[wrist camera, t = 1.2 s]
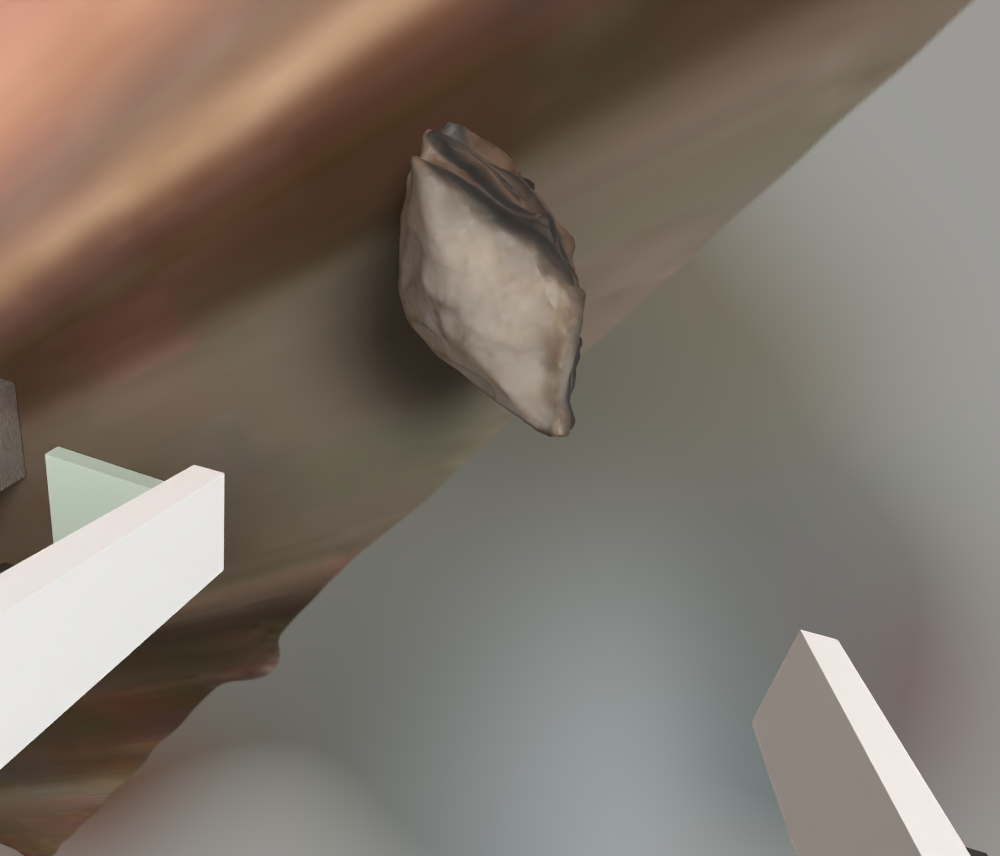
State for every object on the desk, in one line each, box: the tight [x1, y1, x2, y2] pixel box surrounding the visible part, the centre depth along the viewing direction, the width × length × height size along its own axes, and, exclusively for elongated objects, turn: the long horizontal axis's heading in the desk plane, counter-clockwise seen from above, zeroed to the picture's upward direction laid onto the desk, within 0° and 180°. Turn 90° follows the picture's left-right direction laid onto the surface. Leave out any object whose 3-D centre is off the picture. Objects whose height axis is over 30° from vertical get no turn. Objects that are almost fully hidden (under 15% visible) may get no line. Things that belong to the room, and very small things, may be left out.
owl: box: [397, 122, 586, 437], centre depth 30 cm, size 13×13×20 cm
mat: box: [45, 447, 164, 543], centre depth 54 cm, size 12×12×2 cm
